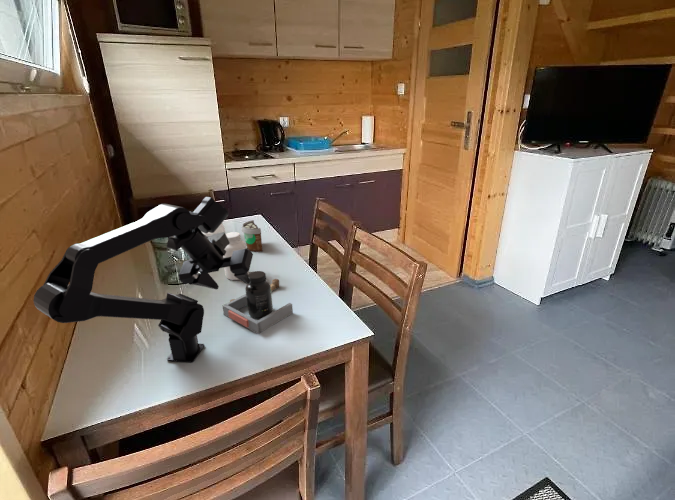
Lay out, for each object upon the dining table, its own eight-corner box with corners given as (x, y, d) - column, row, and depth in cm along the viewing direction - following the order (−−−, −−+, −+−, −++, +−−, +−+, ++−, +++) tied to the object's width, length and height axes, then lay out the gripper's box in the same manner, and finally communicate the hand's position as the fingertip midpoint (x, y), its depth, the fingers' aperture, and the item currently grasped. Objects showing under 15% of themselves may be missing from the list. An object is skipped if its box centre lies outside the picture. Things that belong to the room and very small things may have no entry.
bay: (256, 334, 97) (254, 325, 95) (221, 315, 106) (220, 306, 104) (292, 313, 106) (292, 303, 105) (258, 297, 115) (257, 288, 114)
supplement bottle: (276, 307, 109) (273, 270, 104) (266, 320, 103) (262, 281, 98) (255, 305, 110) (250, 268, 106) (244, 317, 104) (238, 278, 100)
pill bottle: (225, 282, 125) (219, 240, 119) (225, 272, 132) (219, 231, 126) (250, 278, 126) (244, 237, 121) (248, 269, 134) (243, 229, 128)
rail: (233, 310, 108) (232, 303, 107) (229, 308, 109) (228, 301, 108) (281, 286, 120) (280, 280, 120) (276, 284, 122) (275, 278, 121)
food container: (241, 245, 155) (238, 222, 152) (255, 242, 158) (253, 219, 154) (247, 255, 145) (244, 231, 141) (263, 252, 147) (260, 228, 144)
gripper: (241, 215, 90) (269, 255, 101) (176, 230, 95) (210, 267, 106) (230, 250, 83) (262, 289, 94) (160, 264, 88) (199, 300, 99)
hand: (232, 285), depth 98 cm, fingers open, 9 cm apart
